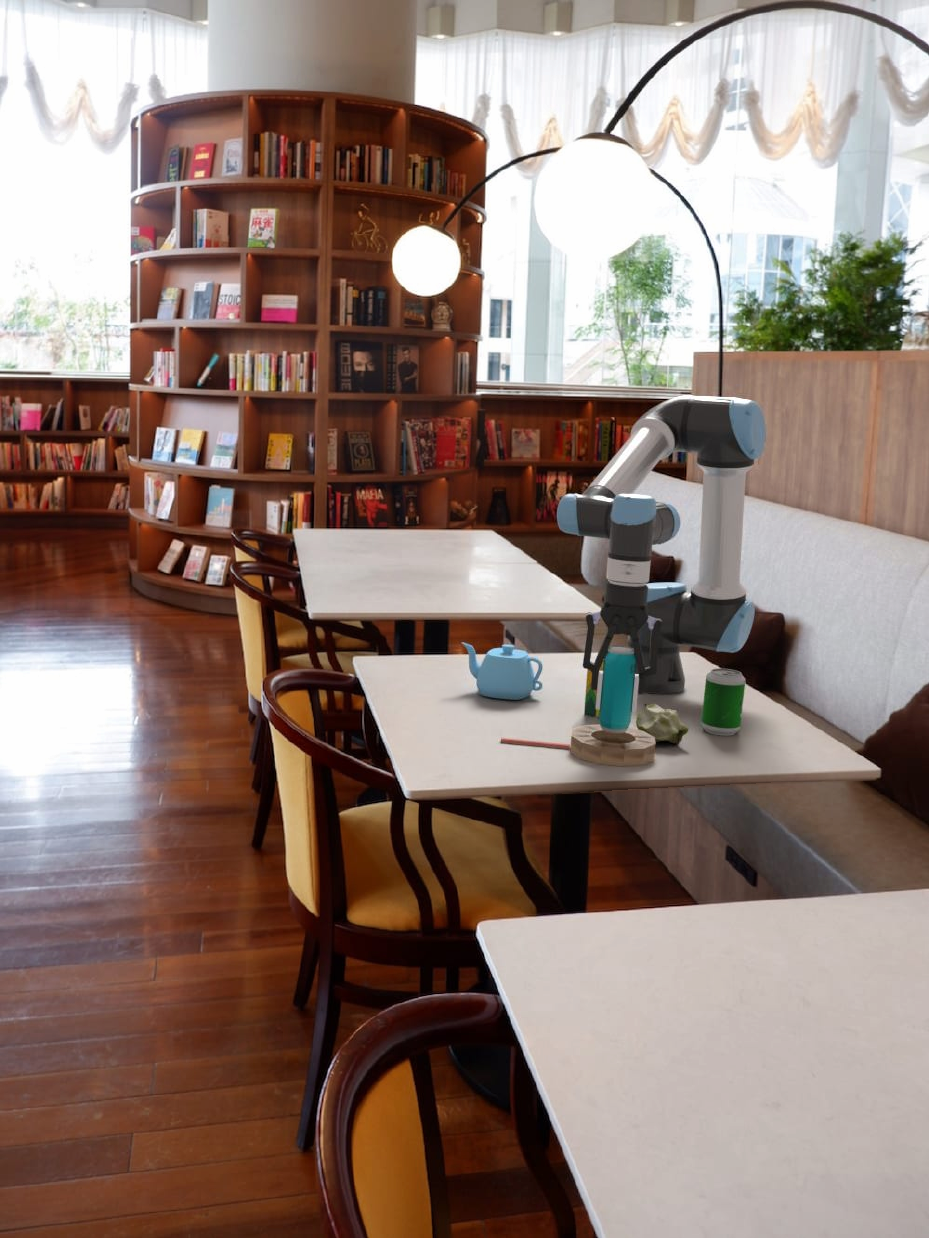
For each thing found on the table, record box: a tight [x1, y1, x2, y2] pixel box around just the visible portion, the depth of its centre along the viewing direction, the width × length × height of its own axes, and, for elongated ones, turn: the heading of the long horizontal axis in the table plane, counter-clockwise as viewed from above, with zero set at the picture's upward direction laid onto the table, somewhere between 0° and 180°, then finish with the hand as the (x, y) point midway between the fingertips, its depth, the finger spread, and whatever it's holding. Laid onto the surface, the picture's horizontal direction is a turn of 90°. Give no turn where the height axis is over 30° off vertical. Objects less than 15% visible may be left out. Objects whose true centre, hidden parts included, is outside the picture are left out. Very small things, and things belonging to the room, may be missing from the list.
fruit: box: [635, 703, 689, 745], centre depth 224 cm, size 9×9×8 cm
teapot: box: [461, 641, 543, 701], centre depth 251 cm, size 13×11×18 cm
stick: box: [500, 737, 571, 750], centre depth 218 cm, size 1×13×1 cm, turn 83°
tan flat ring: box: [569, 723, 656, 767], centre depth 216 cm, size 15×15×3 cm
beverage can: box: [598, 645, 636, 733], centre depth 214 cm, size 6×6×15 cm
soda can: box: [701, 667, 746, 737], centre depth 233 cm, size 8×8×12 cm
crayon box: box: [583, 660, 604, 719], centre depth 241 cm, size 7×3×12 cm, turn 145°
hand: (615, 708), depth 215 cm, fingers closed on beverage can, 6 cm apart
